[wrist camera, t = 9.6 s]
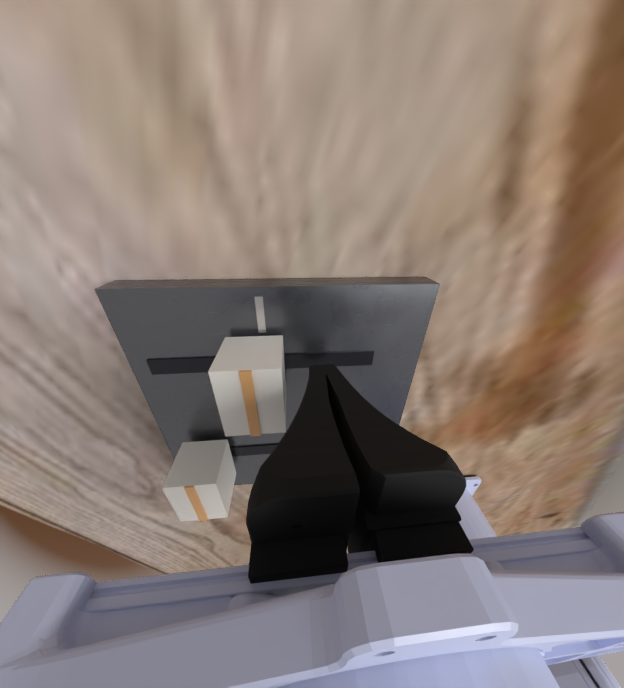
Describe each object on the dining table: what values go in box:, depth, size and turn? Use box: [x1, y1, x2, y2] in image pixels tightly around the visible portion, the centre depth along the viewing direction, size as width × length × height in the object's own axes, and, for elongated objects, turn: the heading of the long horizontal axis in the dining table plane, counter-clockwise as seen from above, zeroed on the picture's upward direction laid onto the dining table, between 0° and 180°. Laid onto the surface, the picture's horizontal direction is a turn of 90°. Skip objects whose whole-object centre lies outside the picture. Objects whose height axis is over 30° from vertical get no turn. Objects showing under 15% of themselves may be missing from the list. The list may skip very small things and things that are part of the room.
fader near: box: [208, 335, 286, 436], centre depth 12 cm, size 4×3×3 cm
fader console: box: [95, 277, 440, 485], centre depth 16 cm, size 17×17×2 cm
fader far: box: [162, 439, 236, 522], centre depth 16 cm, size 4×3×3 cm
